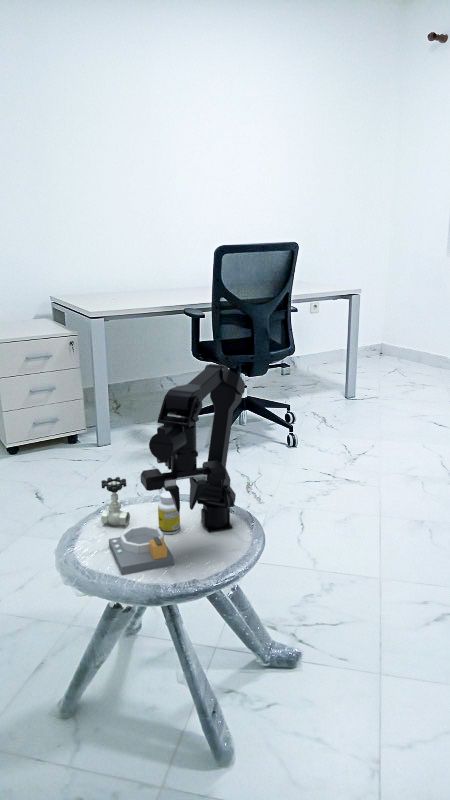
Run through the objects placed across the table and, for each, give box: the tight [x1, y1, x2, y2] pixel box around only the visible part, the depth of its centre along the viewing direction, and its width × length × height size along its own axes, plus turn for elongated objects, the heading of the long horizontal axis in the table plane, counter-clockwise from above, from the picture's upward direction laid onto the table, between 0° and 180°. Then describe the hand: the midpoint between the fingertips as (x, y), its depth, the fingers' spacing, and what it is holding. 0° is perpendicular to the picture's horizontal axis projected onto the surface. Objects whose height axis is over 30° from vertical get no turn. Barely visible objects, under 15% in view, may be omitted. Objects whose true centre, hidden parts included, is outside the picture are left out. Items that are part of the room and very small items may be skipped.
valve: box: [100, 476, 131, 527], centre depth 161 cm, size 7×7×12 cm
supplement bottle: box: [157, 491, 181, 535], centre depth 159 cm, size 5×5×10 cm
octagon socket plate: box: [108, 525, 175, 576], centre depth 147 cm, size 12×14×4 cm
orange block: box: [150, 537, 168, 559], centre depth 143 cm, size 3×4×4 cm
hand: (184, 510), depth 143 cm, fingers open, 3 cm apart
